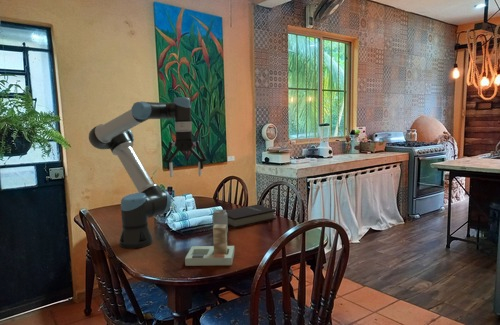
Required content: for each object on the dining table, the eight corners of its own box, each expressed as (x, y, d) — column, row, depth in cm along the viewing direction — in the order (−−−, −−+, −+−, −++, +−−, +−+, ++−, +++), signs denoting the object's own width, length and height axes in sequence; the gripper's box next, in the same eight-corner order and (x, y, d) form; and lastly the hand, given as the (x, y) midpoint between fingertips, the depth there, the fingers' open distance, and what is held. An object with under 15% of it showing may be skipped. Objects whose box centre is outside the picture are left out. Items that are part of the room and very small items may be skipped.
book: (256, 213, 217) (256, 203, 216) (275, 219, 201) (275, 209, 200) (217, 221, 202) (216, 211, 201) (234, 229, 186) (234, 218, 185)
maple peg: (214, 261, 142) (212, 228, 141) (215, 256, 147) (214, 224, 146) (226, 261, 142) (225, 227, 141) (227, 256, 147) (226, 224, 146)
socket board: (185, 265, 139) (184, 256, 138) (192, 252, 152) (191, 244, 152) (231, 265, 138) (231, 256, 137) (234, 252, 151) (234, 244, 151)
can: (225, 236, 173) (224, 212, 172) (211, 235, 175) (210, 212, 174) (229, 231, 181) (228, 208, 179) (215, 230, 182) (214, 208, 181)
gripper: (154, 132, 158) (157, 178, 160) (209, 130, 157) (210, 176, 159) (159, 131, 165) (162, 175, 168) (211, 130, 164) (213, 174, 167)
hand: (185, 176), depth 164 cm, fingers open, 13 cm apart
